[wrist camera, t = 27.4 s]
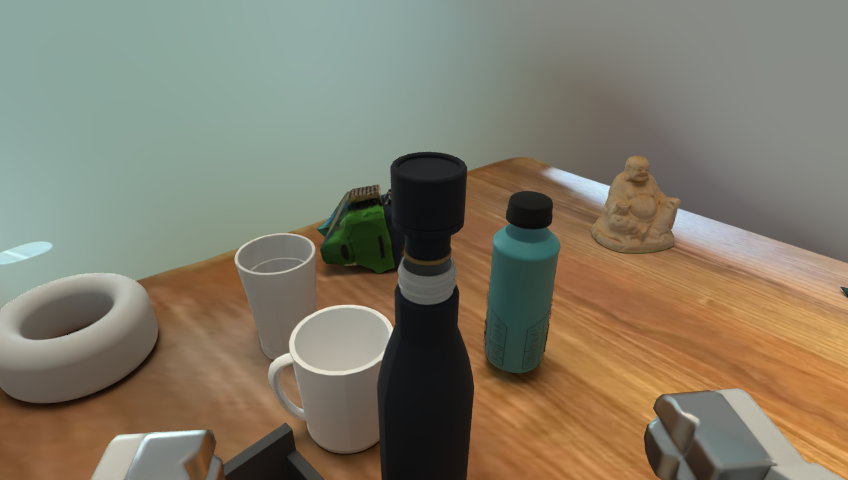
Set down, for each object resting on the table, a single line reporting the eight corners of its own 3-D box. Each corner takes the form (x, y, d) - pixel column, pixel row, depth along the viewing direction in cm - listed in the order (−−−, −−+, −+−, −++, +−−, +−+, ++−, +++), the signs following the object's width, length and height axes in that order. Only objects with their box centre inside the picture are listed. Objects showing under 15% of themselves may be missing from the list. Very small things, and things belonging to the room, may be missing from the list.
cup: (287, 311, 63) (273, 226, 57) (339, 332, 59) (330, 244, 53) (238, 351, 57) (217, 260, 51) (294, 376, 53) (278, 283, 47)
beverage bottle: (549, 383, 53) (581, 213, 43) (486, 387, 52) (503, 216, 42) (532, 341, 58) (557, 181, 48) (475, 344, 58) (488, 183, 48)
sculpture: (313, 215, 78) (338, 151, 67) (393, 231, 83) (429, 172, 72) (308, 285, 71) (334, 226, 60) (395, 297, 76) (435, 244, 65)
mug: (378, 373, 54) (374, 295, 49) (411, 438, 47) (410, 355, 42) (272, 406, 50) (255, 325, 45) (291, 483, 43) (274, 397, 38)
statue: (650, 150, 82) (693, 154, 73) (646, 235, 86) (686, 249, 76) (580, 155, 80) (615, 160, 71) (579, 241, 84) (611, 257, 74)
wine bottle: (479, 523, 40) (520, 171, 25) (413, 574, 37) (412, 204, 22) (431, 464, 45) (440, 135, 29) (368, 505, 41) (341, 158, 26)
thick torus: (186, 349, 57) (171, 301, 53) (32, 436, 47) (2, 384, 43) (124, 297, 65) (108, 252, 62) (-18, 361, 55) (-47, 312, 51)
